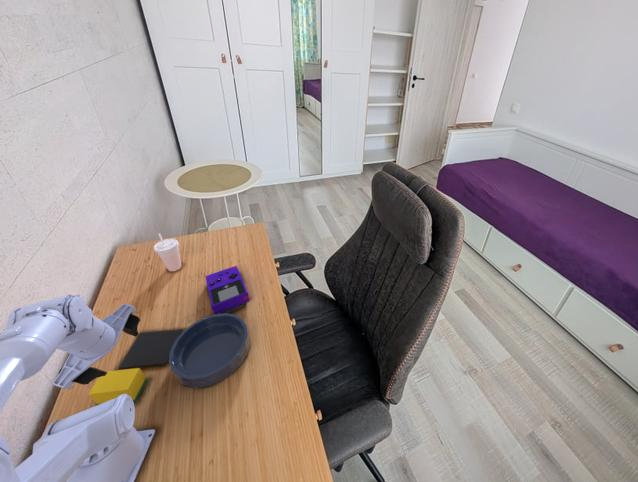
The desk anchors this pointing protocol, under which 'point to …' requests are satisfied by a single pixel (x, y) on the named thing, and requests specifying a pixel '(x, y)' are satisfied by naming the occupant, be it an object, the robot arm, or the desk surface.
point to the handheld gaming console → (226, 290)
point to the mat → (150, 349)
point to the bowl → (209, 350)
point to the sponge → (118, 385)
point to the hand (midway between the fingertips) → (118, 352)
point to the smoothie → (169, 253)
